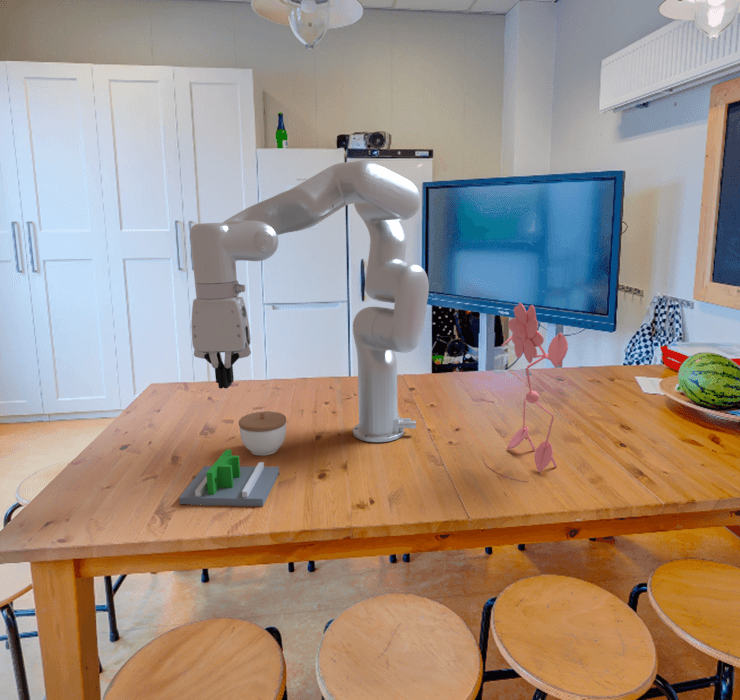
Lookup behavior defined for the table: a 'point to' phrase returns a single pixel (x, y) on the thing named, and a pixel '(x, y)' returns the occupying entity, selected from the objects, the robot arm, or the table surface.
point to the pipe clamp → (223, 472)
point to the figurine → (525, 343)
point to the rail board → (233, 488)
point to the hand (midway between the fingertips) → (225, 386)
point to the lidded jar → (263, 432)
